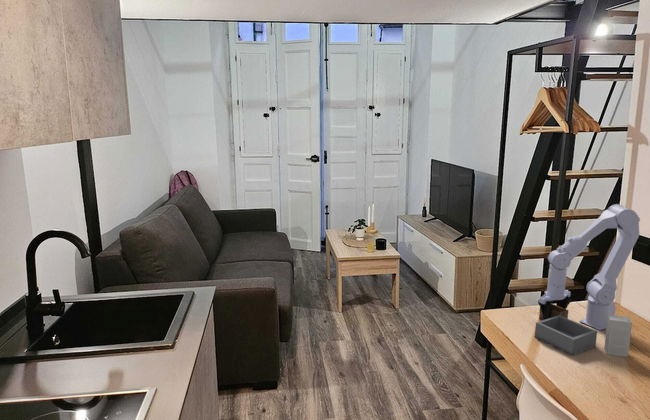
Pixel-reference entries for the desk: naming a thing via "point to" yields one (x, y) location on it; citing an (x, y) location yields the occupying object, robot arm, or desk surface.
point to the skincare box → (618, 335)
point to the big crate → (565, 334)
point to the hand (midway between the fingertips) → (553, 318)
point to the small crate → (555, 312)
